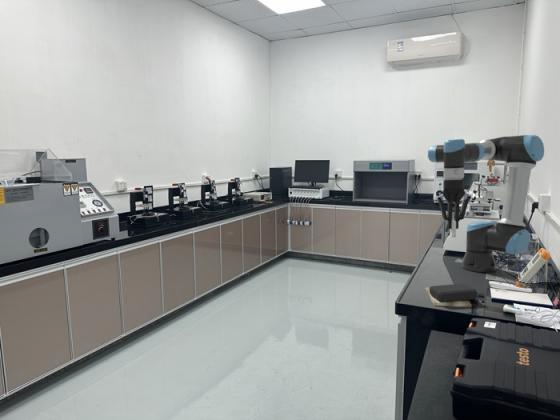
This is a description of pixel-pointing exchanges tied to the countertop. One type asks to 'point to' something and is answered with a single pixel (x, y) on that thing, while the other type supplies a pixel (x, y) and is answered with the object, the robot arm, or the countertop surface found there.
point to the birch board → (450, 303)
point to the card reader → (453, 292)
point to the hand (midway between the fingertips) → (452, 236)
